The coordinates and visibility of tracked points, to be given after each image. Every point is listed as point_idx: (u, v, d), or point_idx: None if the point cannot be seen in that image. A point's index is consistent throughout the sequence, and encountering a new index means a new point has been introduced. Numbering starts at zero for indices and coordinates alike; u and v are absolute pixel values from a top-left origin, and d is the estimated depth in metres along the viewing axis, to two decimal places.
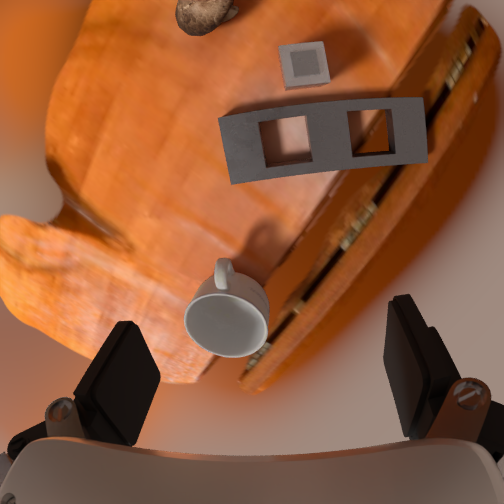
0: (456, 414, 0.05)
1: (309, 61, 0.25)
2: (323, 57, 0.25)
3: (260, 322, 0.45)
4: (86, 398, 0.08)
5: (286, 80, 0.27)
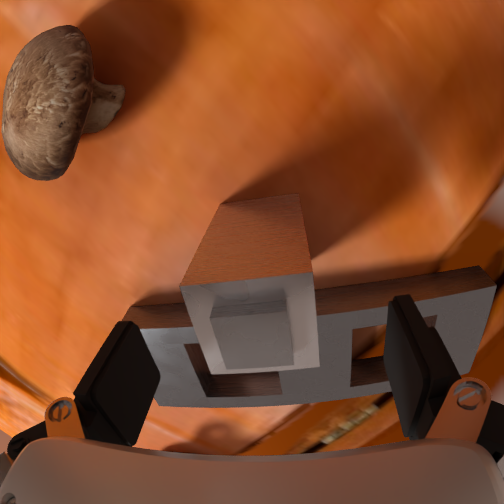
0: (456, 414, 0.05)
1: (266, 340, 0.10)
2: (309, 315, 0.10)
3: None
4: (86, 398, 0.08)
5: (210, 363, 0.12)
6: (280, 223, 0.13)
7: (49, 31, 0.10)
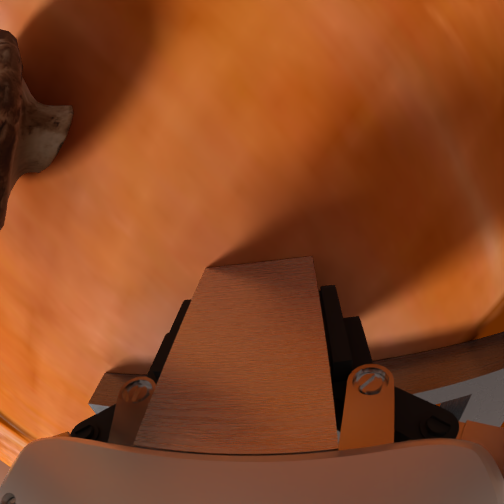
0: (363, 402, 0.07)
1: None
2: None
3: None
4: None
5: None
6: (288, 322, 0.09)
7: None
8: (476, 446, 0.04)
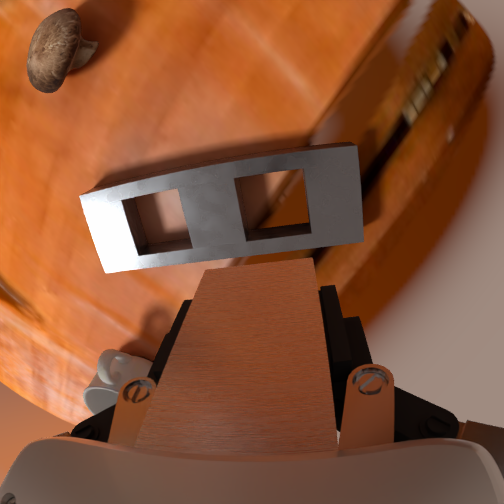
0: (363, 402, 0.07)
1: None
2: None
3: None
4: None
5: None
6: (288, 324, 0.09)
7: (58, 11, 0.17)
8: (476, 446, 0.04)
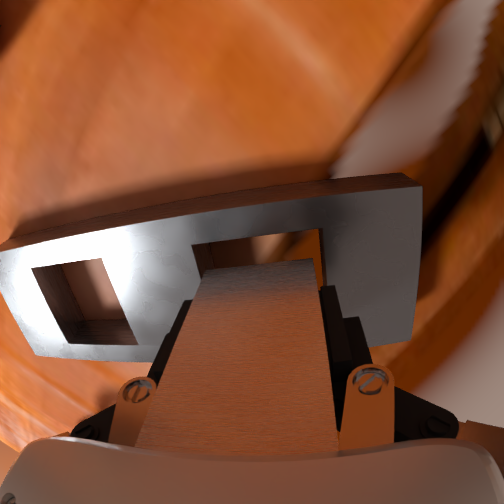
0: (363, 402, 0.07)
1: None
2: None
3: None
4: None
5: None
6: (288, 324, 0.09)
7: None
8: (476, 446, 0.04)
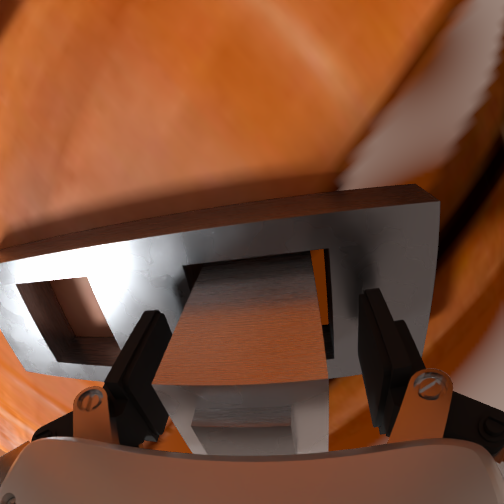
0: (419, 406, 0.06)
1: (263, 449, 0.07)
2: (319, 419, 0.07)
3: None
4: (118, 386, 0.08)
5: None
6: (285, 285, 0.10)
7: None
8: (476, 446, 0.04)
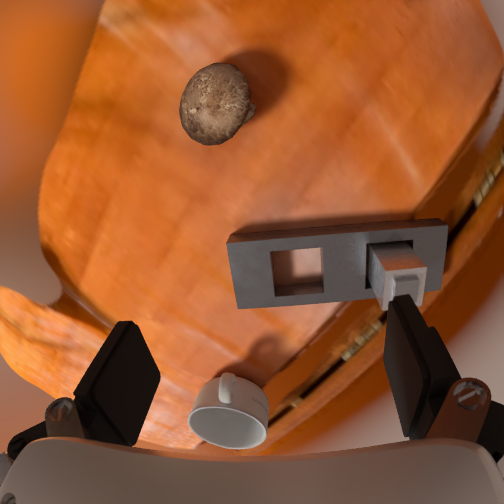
0: (456, 414, 0.05)
1: (410, 291, 0.27)
2: (422, 283, 0.27)
3: None
4: (86, 398, 0.08)
5: (384, 304, 0.28)
6: (403, 249, 0.30)
7: (225, 66, 0.25)
8: (476, 446, 0.04)
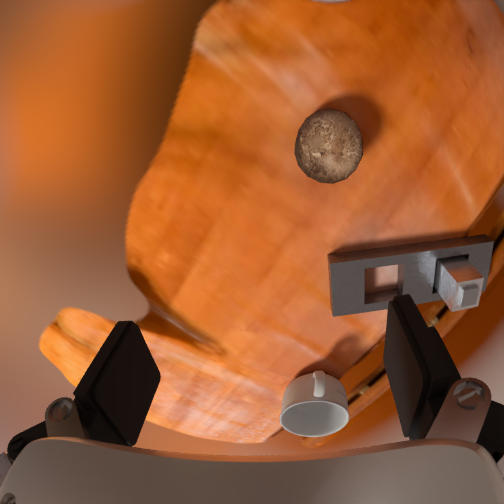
0: (456, 414, 0.05)
1: (472, 296, 0.32)
2: (480, 289, 0.32)
3: (335, 406, 0.49)
4: (86, 398, 0.08)
5: (453, 307, 0.33)
6: (463, 263, 0.35)
7: (341, 114, 0.29)
8: (476, 446, 0.04)
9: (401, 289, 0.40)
